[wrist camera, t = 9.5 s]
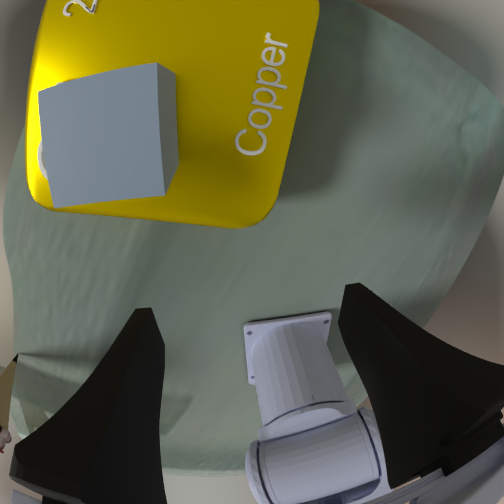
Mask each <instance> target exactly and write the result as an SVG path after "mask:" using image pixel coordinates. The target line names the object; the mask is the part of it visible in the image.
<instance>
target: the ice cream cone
mask: <svg viewBox="0 0 504 504" xmlns="http://www.w3.org/2000/svg"><path fill="white" fill-rule="evenodd" d="M17 358H18V354H17V355H16V356H15V358H14V359H13V360H12V361H11V363H10V364H9V365H8V366H7V368H6V369H5V370H4V371H3V373H2V374H1V375H0V452H1V453H4V452H3V451H2V450H3V448H4V447H5V444H6V443H10V442H11V435H10V433H9V431H8V422H9V410H10V401H11V393H12V386H13V380H14V374H15V368H16V363H17Z"/></svg>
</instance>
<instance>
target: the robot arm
mask: <svg viewBox="0 0 504 504" xmlns="http://www.w3.org/2000/svg"><path fill="white" fill-rule="evenodd" d="M331 319H332V315H331V313H330V312H321V313H315V314H308V315H302V316H295V317H288V318H281V319H274V320H266V321H258V322H250V323H246V324H245V325H244V338H245V349H246V359H247V370H248V380H249V383H250V384H256V390H257V396H258V401H259V407H260V413H261V418H262V424H263V427H261V428H258V429H257V431H258V437H259V440H255V441H253V442H252V443H251V444H250V447H249V449H248V450H247V452H246V456H245V468H246V475H247V480H248V483H249V486H250V489H251V492H252V494H253V496H254V498H255V500H256V501H257V502H258V503H259V504H404V503H406V502H408V501H410V500H411V501H410V502H409V504H497V503H498V501H499V500H500V499H501V498H502V497H503V496H504V424H502V423H501V421H500V419H502V418H503V414H502V412H501V411H500V410H501V409H502V408H503V407H504V365H500V364H496V363H493V362H489V361H486V360H484V359H481V358H478V357H476V356H473V355H470V354H468V353H466V352H464V351H462V350H459V349H457V348H455V347H453V346H451V345H449V344H447V343H445V342H444V341H442V340H440V339H438V338H437V337H435V336H433V335H432V334H430V333H428V332H426V331H425V330H424V329H422V328H421V327H419V326H418V325H416V324H415V323H413V322H412V321H410V320H409V319H408V318H406V317H405V316H403V315H402V314H401V313H399V312H398V311H397V310H395V309H394V308H393V307H391V306H390V305H389V304H387V303H386V302H385V301H384V300H382V299H381V298H380V297H378V296H377V295H376V294H374V293H373V292H372V291H371V290H369V289H368V288H367V287H365V286H364V285H362V284H361V283H354V284H348V285H345V290H344V295H343V300H342V305H341V310H340V315H339V319H338V325H339V329H340V332H341V335H342V338H343V341H344V344H345V346H346V348H347V351H348V353H349V355H350V357H351V359H352V361H353V363H354V365H355V367H356V370H357V372H358V374H359V376H360V378H361V380H362V382H363V384H364V387H365V389H366V391H367V394H368V396H369V399H370V402H371V405H372V408H373V411H372V410H370V409H367V408H366V407H361V408H359V409H356V407H355V404H354V401H353V399H350V400H349V399H348V396H347V394H346V391H345V389H344V386H343V383H342V381H341V378H340V376H339V374H338V371H337V369H336V366H335V364H334V361H333V359H332V356H331V354H330V351H329V349H328V347H327V340H328V335H329V330H330V324H331ZM325 320H326V321H325ZM249 331H251V332H249ZM164 370H165V344H164V341H163V339H162V336H161V333H160V331H159V328H158V325H157V322H156V320H155V317H154V314H153V311H152V308H138V309H135V310H134V312H133V313H132V315H131V316H130V318H129V319H128V321H127V322H126V324H125V326H124V327H123V329H122V330H121V332H120V333H119V335H118V336H117V338H116V339H115V341H114V342H113V344H112V345H111V347H110V348H109V350H108V352H107V353H106V354H105V356H104V357H103V359H102V360H101V361H100V363H99V364H98V366H97V367H96V368H95V370H94V371H93V372H92V374H91V375H90V376H89V378H88V379H87V380H86V381H85V383H84V384H83V385H82V386H81V387H80V388H79V390H78V391H77V392H76V393H75V394H74V395H73V396H72V397H71V398H70V399H69V400H68V401H67V402H66V403H65V404H64V406H63V407H62V408H61V409H60V410H59V411H58V412H57V413H55V414H54V415H53V416H52V417H51V418H50V419H49V420H48V421H46V422H45V423H44V424H43V425H42V426H41V427H39V428H38V429H37V430H36V431H34V432H33V433H31V434H30V435H29V436H27V437H26V438H24V439H23V440H22V441H20V442H19V443H17V444H16V445H15V447H14V452H13V457H12V462H11V468H10V473H9V476H10V478H11V479H12V480H14V481H15V482H17V483H19V484H21V485H23V486H24V487H26V488H28V489H30V490H32V491H34V492H36V493H39V494H41V495H43V498H42V501H40V500H38V499H36V498H33V497H31V496H28V495H26V494H23V493H21V492H19V491H17V490H15V489H13V490H12V497H11V504H167V500H166V495H165V489H164V483H163V475H162V466H161V455H160V437H159V419H160V408H161V398H162V389H163V379H164ZM418 477H421V479H419V480H417V481H415V482H412V483H411V484H408V485H406V486H404V487H402V488H400V489H398V490H394V488H396V487H398V486H401V485H403V484H405V483H407V482H409V481H411V480H413V479H415V478H418Z"/></svg>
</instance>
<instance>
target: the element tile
mask: <svg viewBox="0 0 504 504" xmlns="http://www.w3.org/2000/svg"><path fill="white" fill-rule="evenodd" d="M318 17H319V1H318V0H47V1H46V4H45V7H44V10H43V14H42V18H41V22H40V25H39V29H38V33H37V38H36V42H35V48H34V52H33V58H32V64H31V70H30V77H29V86H28V94H27V105H26V121H25V169H26V179H27V185H28V188H29V190H30V193H31V195H32V197H33V198H34V200H35V201H36V202H37V203H38V204H39V205H41V206H43V207H44V208H46V209H48V210H51V211H56V212H69V213H81V214H93V215H104V216H115V217H126V218H136V219H146V220H156V221H166V222H176V223H185V224H195V225H204V226H213V227H222V228H231V229H236V228H245V227H249V226H253V225H256V224H257V223H259V222H260V221H262V220H263V219H265V218H266V217H267V215H268V214H269V213H270V211H271V210H272V209H273V207H274V204H275V202H276V199H277V197H278V192H279V188H280V184H281V180H282V176H283V171H284V167H285V163H286V159H287V154H288V150H289V146H290V142H291V137H292V133H293V129H294V124H295V120H296V116H297V111H298V107H299V103H300V98H301V94H302V90H303V85H304V81H305V76H306V72H307V67H308V63H309V58H310V54H311V49H312V45H313V40H314V36H315V31H316V26H317V22H318ZM150 63H159V64H161V65H162V66H164V67H166V68H167V69H169V70H171V71H172V72H174V73H175V79H176V115H177V137H178V154H179V166H178V168H177V171H176V173H175V175H174V177H173V179H172V181H171V184H170V186H169V188H168V190H167V192H166V195H165V196H153V197H143V198H132V199H123V200H114V201H105V202H97V203H89V204H81V205H74V206H67V207H60V208H54V206H53V201H52V197H51V192H50V188H49V183H48V178H47V172H46V166H45V160H44V154H43V147H42V139H41V131H40V121H39V109H38V91H40V90H43V89H46V88H49V87H52V86H55V85H58V84H61V83H64V82H68V81H71V80H74V79H78V78H82V77H85V76H89V75H93V74H97V73H102V72H106V71H111V70H115V69H120V68H126V67H131V66H137V65H143V64H150Z"/></svg>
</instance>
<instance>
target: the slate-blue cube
mask: <svg viewBox="0 0 504 504" xmlns="http://www.w3.org/2000/svg"><path fill="white" fill-rule="evenodd" d="M38 109H39V121H40V131H41V139H42V147H43V154H44V160H45V166H46V172H47V178H48V183H49V188H50V192H51V197H52V201H53V206H54V208H60V207H67V206H74V205H81V204H89V203H97V202H105V201H114V200H123V199H132V198H143V197H153V196H165V195H166V192H167V190H168V188H169V186H170V184H171V181H172V179H173V177H174V175H175V173H176V171H177V168H178V166H179V154H178V137H177V115H176V79H175V73H174V72H172V71H171V70H169V69H167V68H166V67H164V66H162V65H161V64H159V63H150V64H143V65H137V66H131V67H126V68H120V69H115V70H111V71H106V72H102V73H97V74H93V75H89V76H85V77H82V78H78V79H74V80H71V81H68V82H64V83H61V84H58V85H55V86H52V87H49V88H46V89H43V90H40V91H38Z"/></svg>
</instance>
